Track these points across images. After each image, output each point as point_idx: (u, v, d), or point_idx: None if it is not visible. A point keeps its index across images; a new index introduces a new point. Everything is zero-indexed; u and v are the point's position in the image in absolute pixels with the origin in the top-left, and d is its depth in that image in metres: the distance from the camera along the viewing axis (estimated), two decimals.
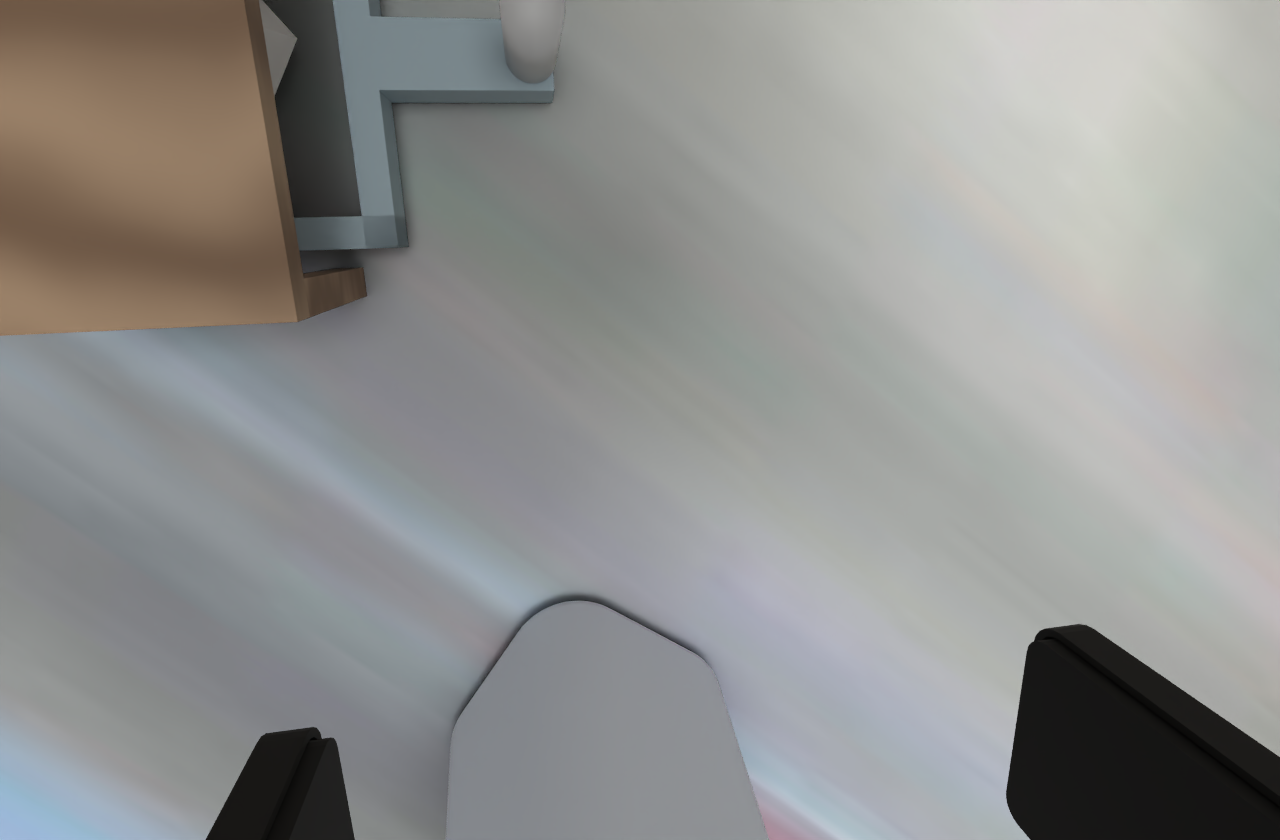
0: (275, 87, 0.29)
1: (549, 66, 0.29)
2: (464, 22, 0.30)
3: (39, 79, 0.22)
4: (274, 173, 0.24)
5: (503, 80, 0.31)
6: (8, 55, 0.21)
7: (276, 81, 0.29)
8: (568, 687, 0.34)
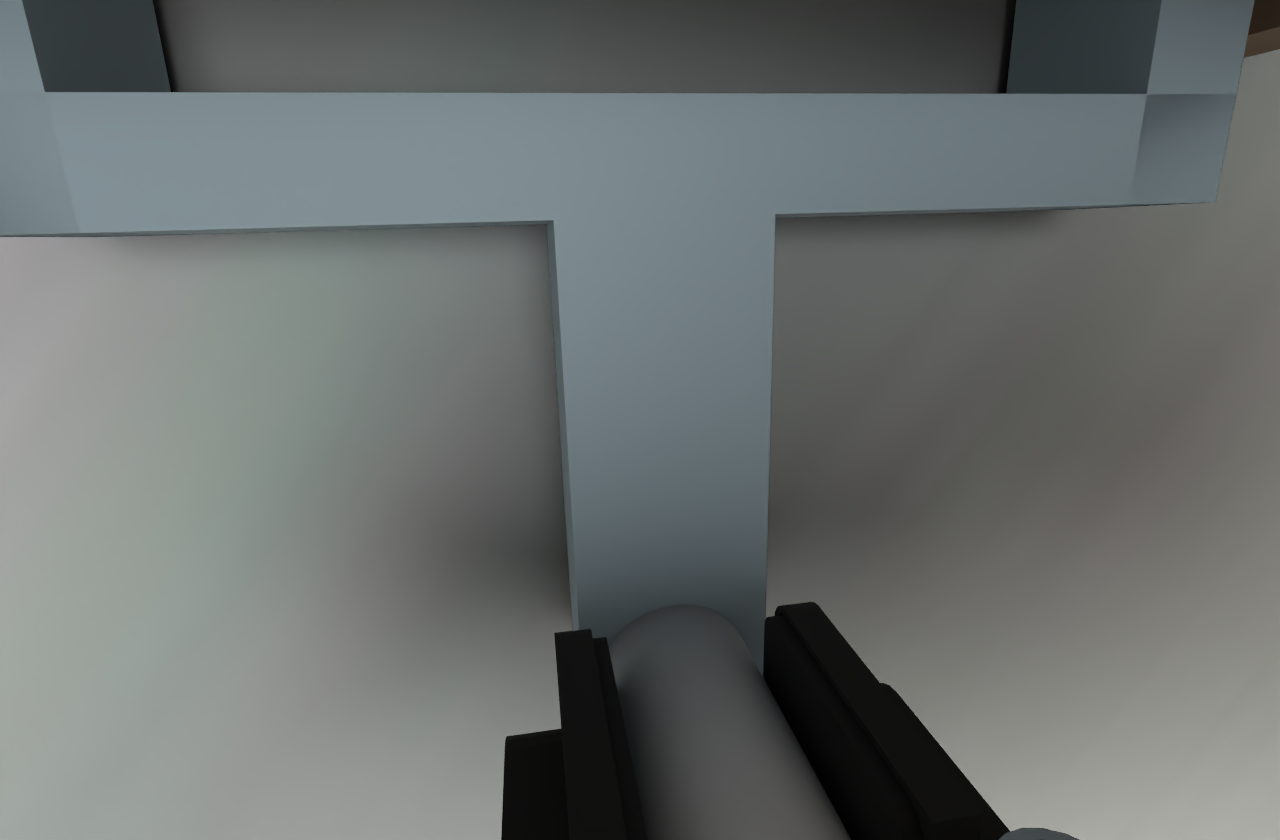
0: None
1: None
2: (757, 495, 0.10)
3: None
4: None
5: (605, 604, 0.10)
6: None
7: None
8: None
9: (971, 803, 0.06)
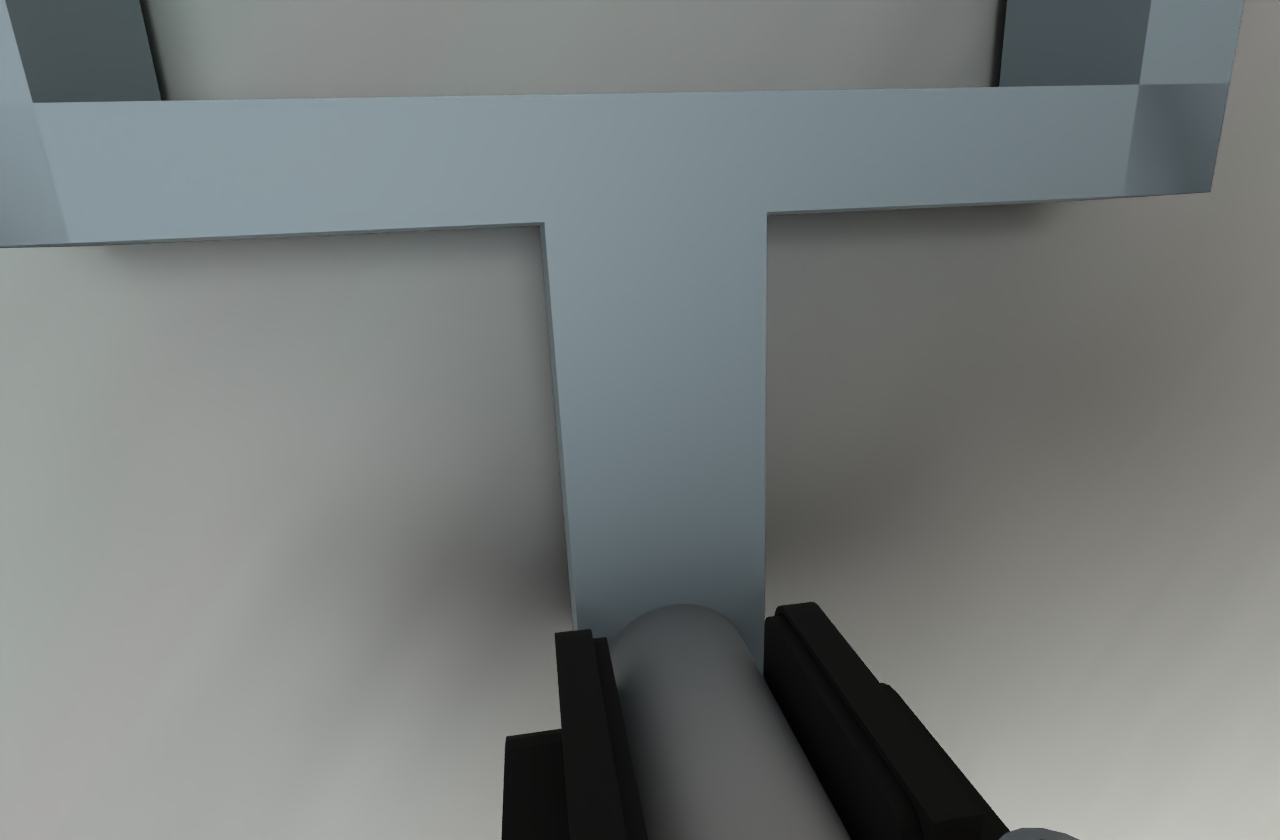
0: None
1: None
2: (754, 493, 0.10)
3: None
4: None
5: (603, 604, 0.10)
6: None
7: None
8: None
9: (971, 803, 0.06)
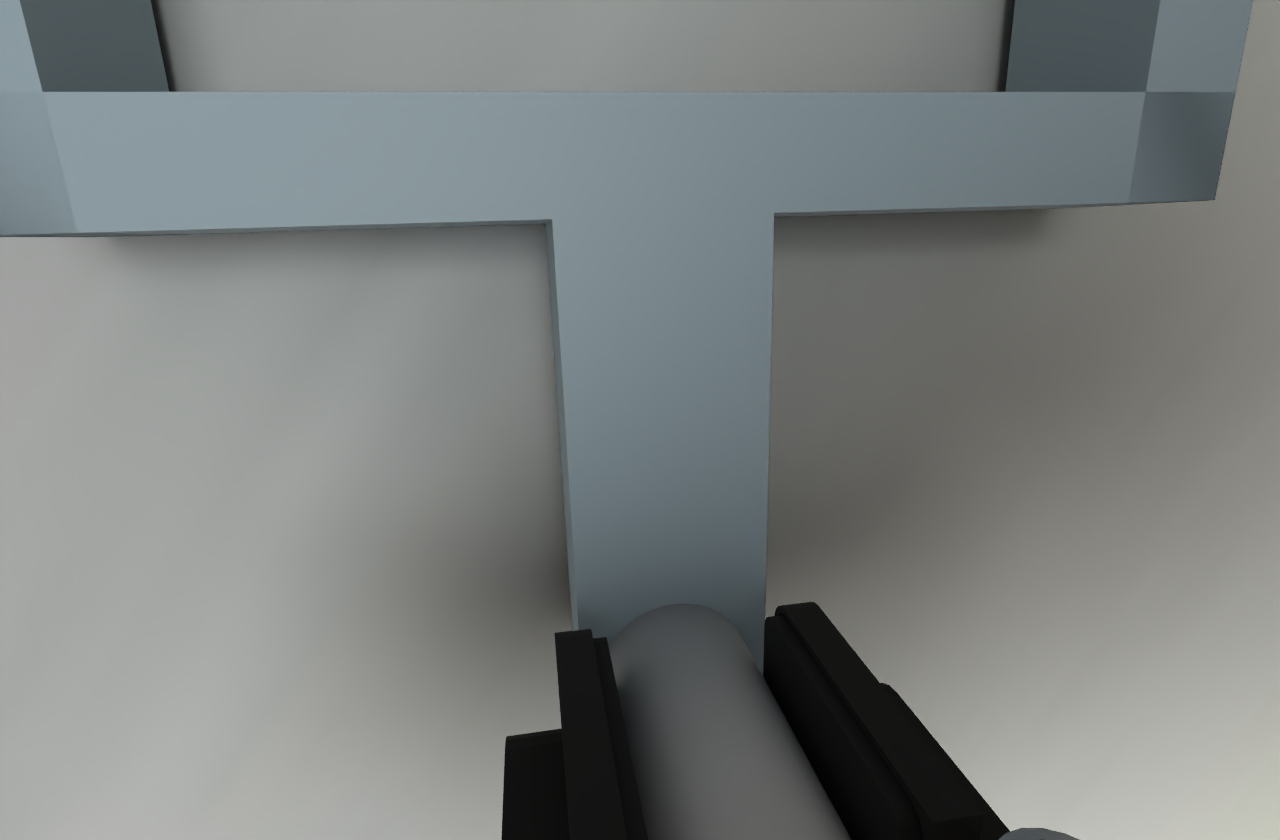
0: None
1: None
2: (757, 494, 0.10)
3: None
4: None
5: (605, 603, 0.10)
6: None
7: None
8: None
9: (971, 803, 0.06)
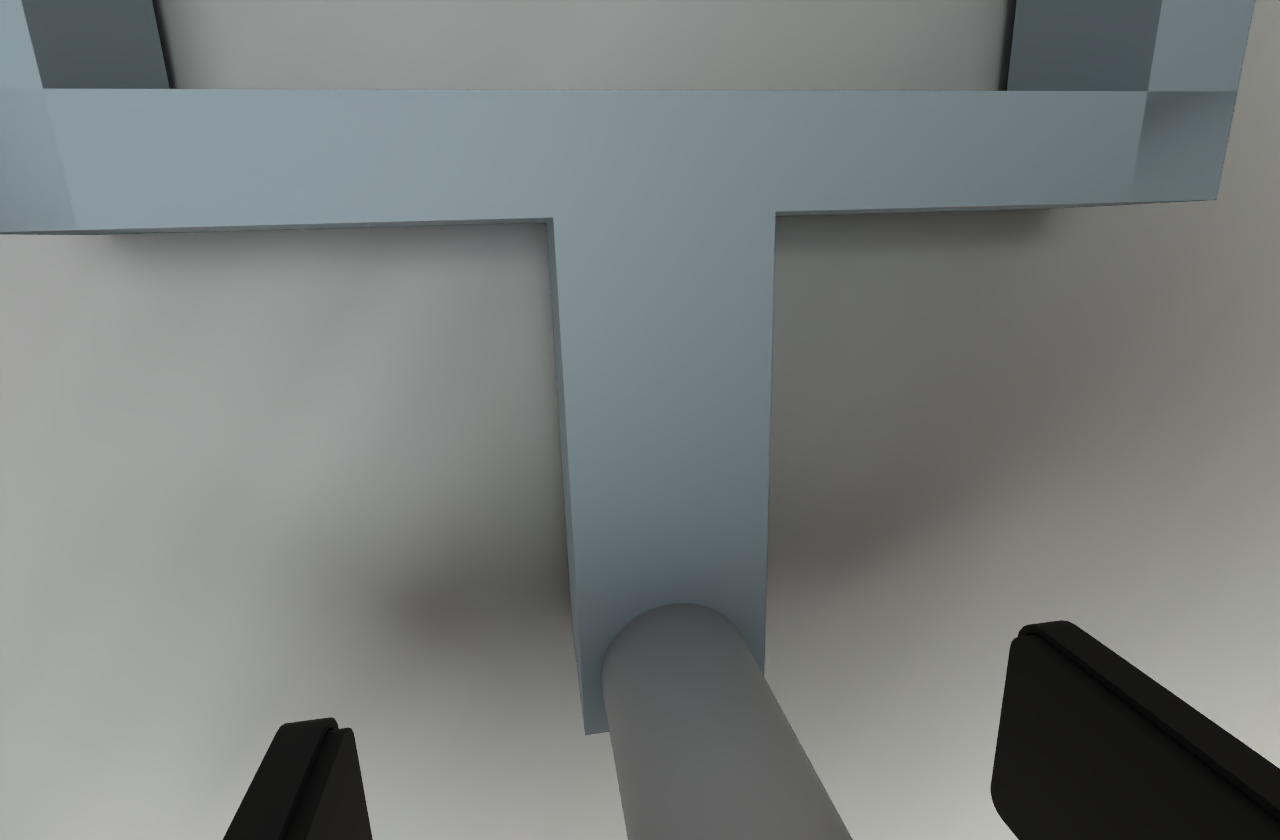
0: None
1: None
2: (757, 493, 0.10)
3: None
4: None
5: (605, 602, 0.10)
6: None
7: None
8: None
9: None
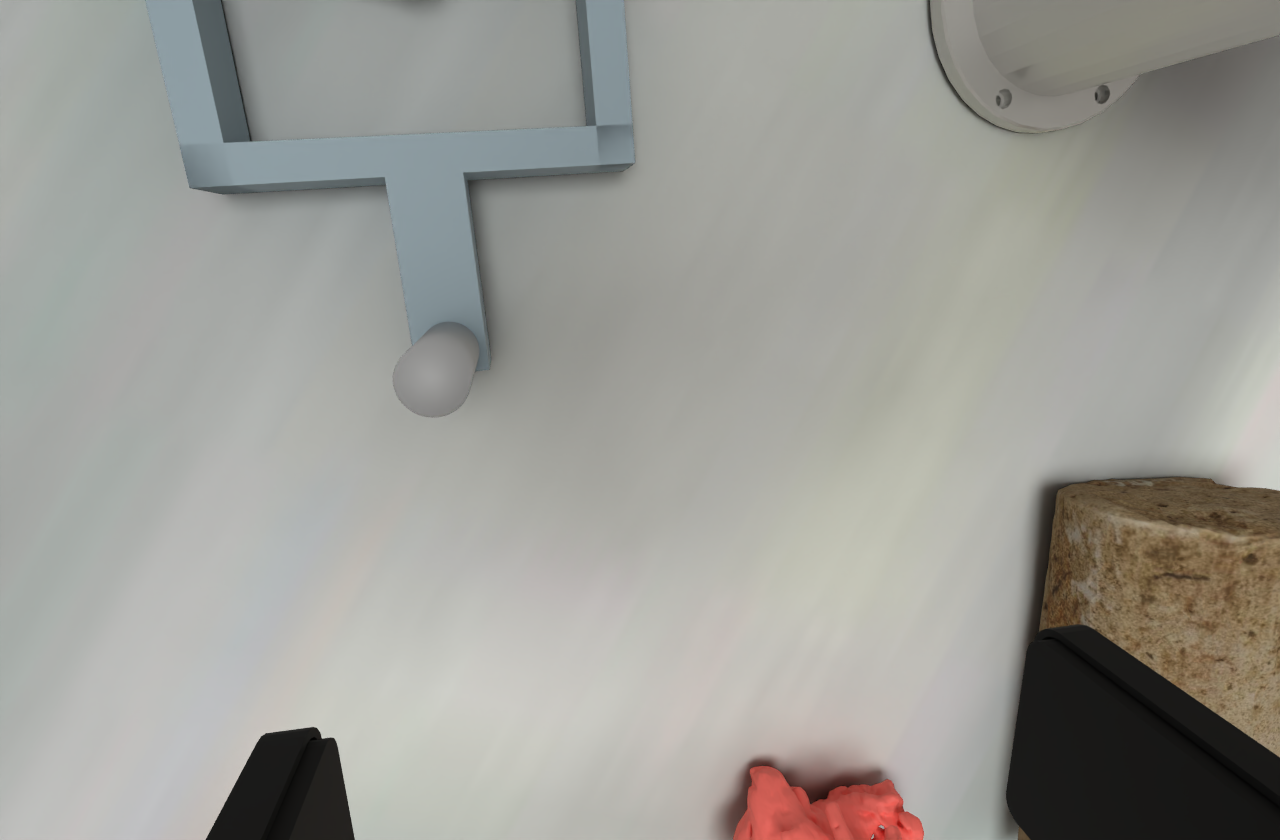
0: None
1: None
2: (472, 277, 0.28)
3: None
4: None
5: (418, 320, 0.28)
6: None
7: None
8: None
9: None
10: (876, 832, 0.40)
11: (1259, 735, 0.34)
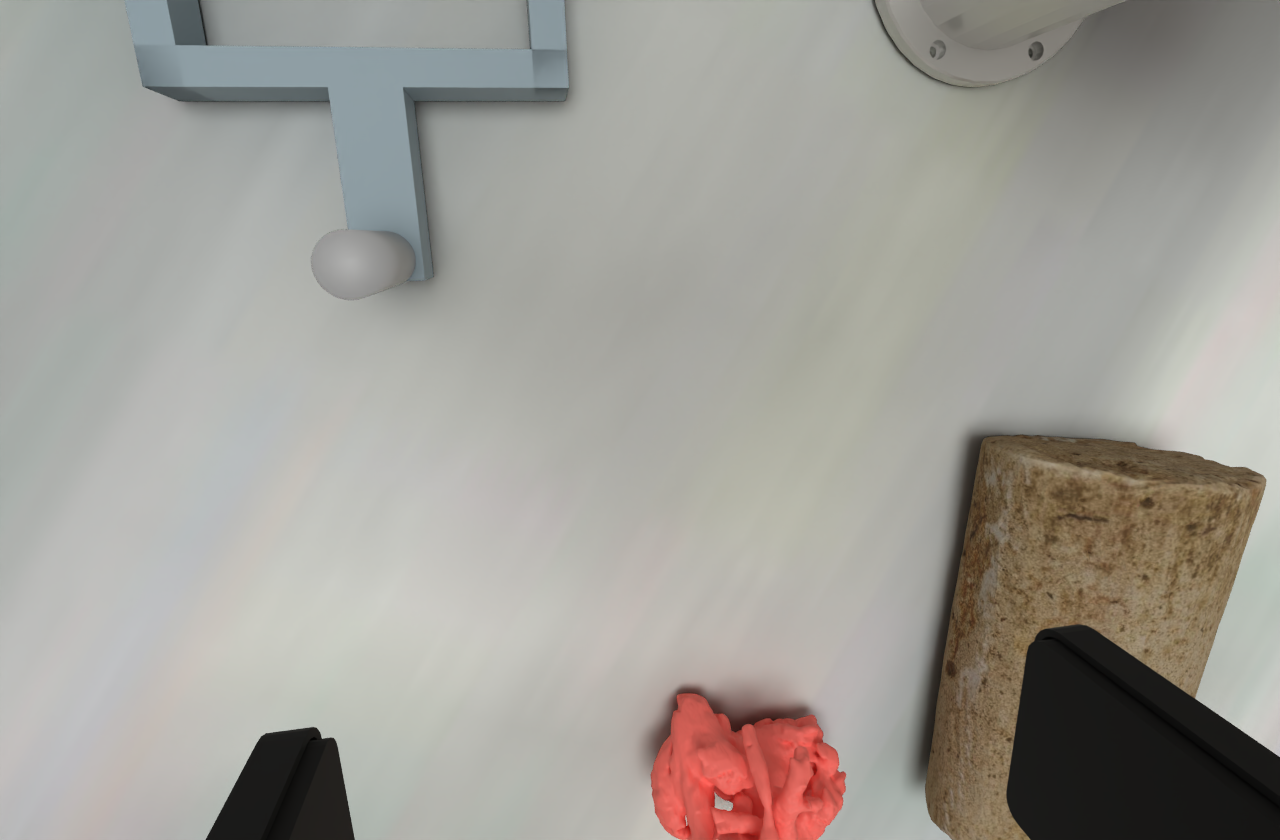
0: None
1: None
2: (410, 189, 0.29)
3: None
4: None
5: (358, 228, 0.29)
6: None
7: None
8: None
9: None
10: None
11: None
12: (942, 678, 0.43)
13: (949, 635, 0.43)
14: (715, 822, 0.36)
